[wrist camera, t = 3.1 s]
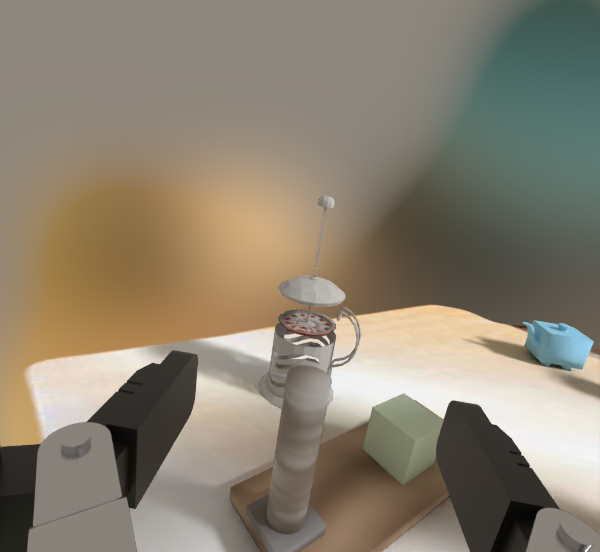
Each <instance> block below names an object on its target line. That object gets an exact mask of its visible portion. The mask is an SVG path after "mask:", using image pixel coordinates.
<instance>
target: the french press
mask: <svg viewBox="0 0 600 552" xmlns="http://www.w3.org/2000/svg"><path fill="white" fill-rule="evenodd" d="M334 204H335V202H334V200H333V198H331V197H329V196H322V197H321V198H319V201H318V205H320V206H323V207H325V208H324V214H323V221H322V228H321V234H320V240H319V246H318V252H317V258H316V265H315V271H314V276H298V277H295V278H292V279H290V280H287V281H284V282H282V283H281V284H280V285H279V290H280V292H281V294H282V295H283V296H285V297H286V298H288V299H290V300H292V301H295V302H297V303H301V304H305V305H309V308H308V311H307V310H302V309H301V310H297V309H296V310H290V311H286V312H284V313H282V314H280V316H279V318H278V319H279V321H280V323H278V324H277V325H276V327H275V333H274V341H273V348H272V356H271V363H270V370H269V373H268V374H266V375H265V376H264V377H263V378H262V380H261V382H260V385H259V386H260V389H261V393H262V395H263V396H264V397H265V398H266V399H267V400H268V401H269V402H270V403H271V404H273V405H275V406H277V407H279V408H281V409H282V404H283V398H284V391H285V384H286V378H287V373H288V371H289V370H290V369H291V368H293V367H296V366H312V367H316V368H319V369H321V370H323V371H325V372H326V373H327V374H328V375H329V376H331V371H332V367H338V366H342V365H344V364H346V363H348V362H349V361H350V360H351V359H352V358H353V357H354V355H355V353H356V351H357V348H358V345H359V341H360V338H361V328H360V324H359V321H358V319H357V318H356V316H355V315H354V314H353V313H352V312H351V311H350V310H349V309H348V308H346V307H343V308H341V311H340V312H339V313H338V317H337V320H338V321H339V320H340V319H341V317H342V314H344V315H345V316H346V317H347V318H349V319H350V321H351V322H352V324H353V325H354V328H355V331H356V337H357V342H356V345H355V348H354V350H353V351H352V352H351V354H350V355H348V356H346V357H344V358H338V359H334V360H333V361H332V355H333V350H334V345H335V340H336V334H335V333H334V332H333V331H334V330H335V329H336V324H335V323H334V321H333V320H332V319H331V318H329V317H327V316H325V315H323V314H319V313H316V312H312V311H310V307H311V306H325V307H328V306H334V305H338V304H339V303H341V302H342V301H343V300H344V299H345V293H344V292H343V291H341V290H340V289H339V288H338V287H337V286H335V285H334V284H333V283H332V282H330V281H328V280H325V279H322V278H319V277H316V270H317V263H318V257H319V251H320V244H321V239H322V231H323V226H324V219H325V214H326V208H327V207H331V208H332V207H334ZM343 309H346V310H347V311H348V312H350V313H351V314H352V316H353V317H354V318H355V320H356V322H357V325H358V329H359V334H358V330H357V327H356V325H355V323H354V322H353V320H352V319H351V318H350V317H349V316H348V315H347V314H346V313H345V312H343ZM295 333H296V334H299V335H304V336H300V337H296V338H291V339H284V334H295ZM325 335H326V336H327V337H328V339H329V340H330V344H328V342H327V341H326V340H325V339H324V338H323V337H322V336H325ZM309 338H312V339H319V340H320V341H321V342H323V343H324V344H325V345H326V346H323V347H322V346H321V345H319V344H318V343H314V342H308V343H303V344H300V345H294V344H292V343H293V342H298V341H301V340H305V339H309ZM289 354H290V355H289ZM304 355H308V356H312V357H315V358H318V359H319V362H317V361H316V360H315V359H309V358H306V359H292V358H296V357H300V356H304ZM349 357H350V358H349ZM347 358H349V359H348V360H347V361H346V362H344V363H342V364H336V365H333V363H334V362H335V361H340V360H345V359H347ZM331 361H332V362H331ZM332 400H333V390H332V388H331V389H330V394H329V399H328V404H327V406H328V405H329V403H330V402H331V401H332Z"/></svg>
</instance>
